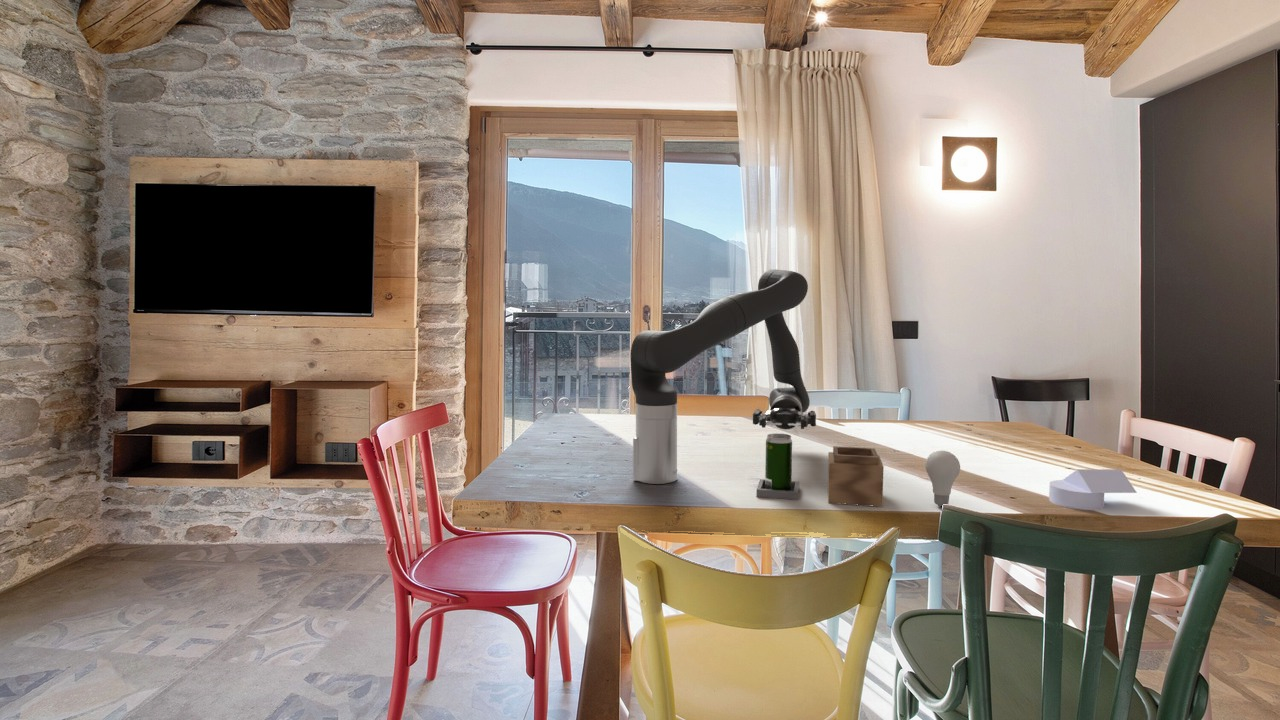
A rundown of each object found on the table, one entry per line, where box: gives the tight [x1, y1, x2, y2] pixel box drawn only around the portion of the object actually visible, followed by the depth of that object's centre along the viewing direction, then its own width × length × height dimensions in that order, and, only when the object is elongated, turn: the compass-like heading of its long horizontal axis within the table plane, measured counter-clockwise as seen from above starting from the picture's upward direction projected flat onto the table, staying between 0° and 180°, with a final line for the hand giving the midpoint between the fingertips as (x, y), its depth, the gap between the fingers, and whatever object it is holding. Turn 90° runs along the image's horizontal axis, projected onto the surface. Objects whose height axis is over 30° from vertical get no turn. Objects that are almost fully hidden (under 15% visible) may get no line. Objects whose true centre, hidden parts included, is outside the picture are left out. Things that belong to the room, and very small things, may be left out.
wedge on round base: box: [1048, 468, 1138, 511], centre depth 131 cm, size 9×7×13 cm
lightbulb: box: [924, 450, 961, 508], centre depth 128 cm, size 6×6×11 cm
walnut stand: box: [827, 445, 884, 507], centre depth 134 cm, size 10×10×10 cm
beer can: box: [764, 433, 793, 491], centre depth 138 cm, size 5×5×12 cm
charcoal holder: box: [756, 478, 800, 501], centre depth 138 cm, size 8×8×2 cm
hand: (782, 423), depth 148 cm, fingers open, 8 cm apart
